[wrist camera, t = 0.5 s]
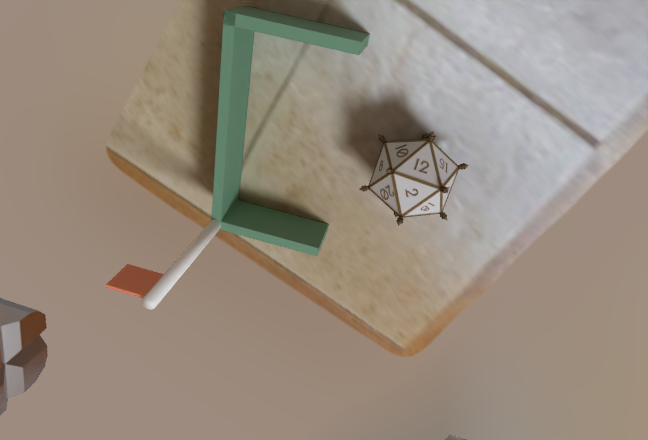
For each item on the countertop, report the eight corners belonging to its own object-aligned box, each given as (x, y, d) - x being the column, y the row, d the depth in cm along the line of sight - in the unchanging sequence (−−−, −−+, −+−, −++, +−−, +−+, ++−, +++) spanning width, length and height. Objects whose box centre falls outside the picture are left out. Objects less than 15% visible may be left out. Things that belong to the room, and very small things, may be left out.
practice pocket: (209, -3, 42) (76, 17, 26) (369, 33, 40) (328, 76, 25) (200, 198, 53) (102, 295, 37) (326, 232, 51) (279, 347, 36)
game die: (417, 166, 49) (391, 250, 46) (363, 119, 45) (331, 207, 41) (493, 148, 42) (470, 245, 39) (438, 90, 38) (406, 193, 34)
